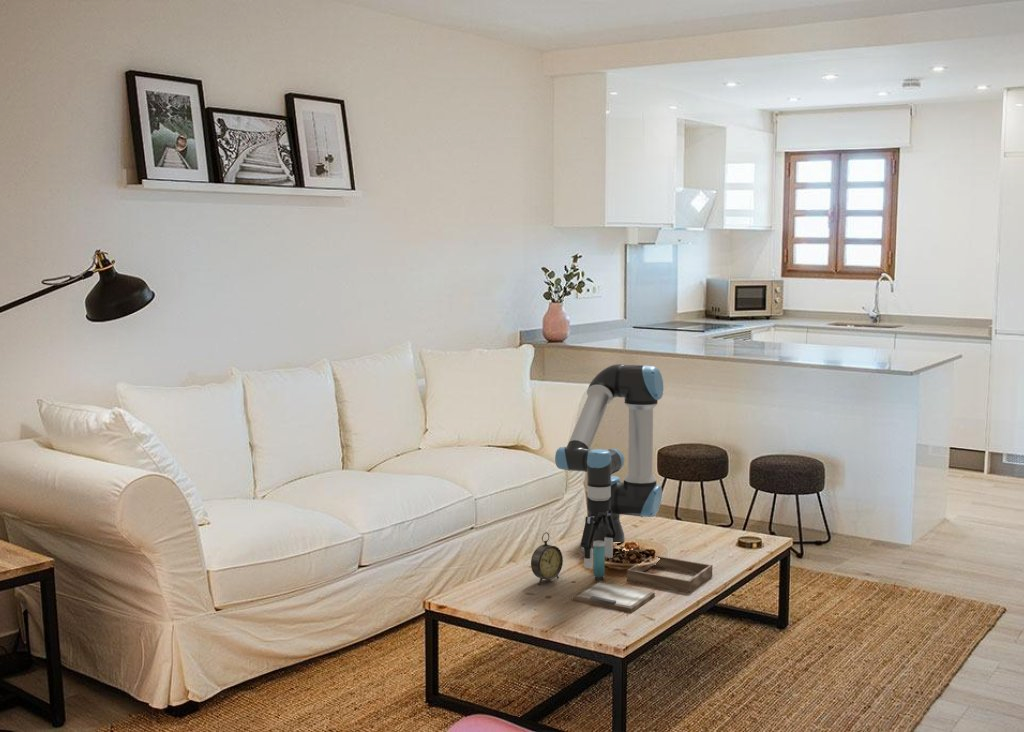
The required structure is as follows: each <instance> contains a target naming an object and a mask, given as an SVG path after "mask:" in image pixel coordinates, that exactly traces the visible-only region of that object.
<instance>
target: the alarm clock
mask: <svg viewBox="0 0 1024 732" xmlns="http://www.w3.org/2000/svg"><path fill="white" fill-rule="evenodd" d="M546 534H547V536H548V537H547V540H544V535H546ZM549 539H550V533H549V532H547V531H545V532H544V533H542V536H541V541H542V542H543V544H541V545H540V546H539V545H538V547H536V549H534V551H533V553H532V556H531V559H530V568H531V571H532V573H533V575H534V576H536V577H537V578H539V582H538V586H541V583H542V581H543V580H546V581H552V580H554V579H555V578H557V579H559V578H560V576H558V575H559V574H560V573H561V571H562V568H563V564H564V563H563V562H564V559H563V558H564V557H563V553H562V551H561V550H560V548H559V547H558V546H555V545H551V544H548V542H549Z"/></svg>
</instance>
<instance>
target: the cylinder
mask: <svg viewBox="0 0 1024 732" xmlns="http://www.w3.org/2000/svg"><path fill="white" fill-rule="evenodd" d="M592 548H593V576H594V581H596V582H602V581H604V577H605V574H606V573H605V572H606V568H605V567H606V566H605V565H606V562H605V561H606V560H605V559H606V557H605V542H604V541H600V540H597V541H594V542H593V545H592Z"/></svg>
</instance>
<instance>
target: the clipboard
mask: <svg viewBox="0 0 1024 732" xmlns="http://www.w3.org/2000/svg"><path fill="white" fill-rule="evenodd" d="M654 597H656V593H655V592H653V591H649V590H644V589H643V590H642V589H638V588H633V587H627V586H624V585H623V586H622V585H617V584H612V583H606V582H602V581H596V582H594V583H593V584H590V585H589V586H587V587H586V588H584V589H583V590H581V591H580V592H577V593H576V594H574V595H573V596H572V601H574V602H579V603H582V604H583V603H584V604H589V605H594V606H599V607H603V608H609V609H613V610H618V611H623V612H626V613H632V612H634V611H636V610H637V609H639V608H640V607H641V606H643V605H644V604H645V603H647V602H648V601H650V600H651V599H653V598H654Z"/></svg>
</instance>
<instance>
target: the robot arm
mask: <svg viewBox="0 0 1024 732" xmlns="http://www.w3.org/2000/svg"><path fill="white" fill-rule="evenodd" d="M586 395H587V398H586V400H585V403H584V405H583V407H582V409H581V412H580V414H579V417H578V418H577V419H578V420H577V421H576V424H575V427H574V429H573V431H572V433H571V436H570V438H569V441H568V442H567V446H560V447H558V448H557V450H556V452H555V456H554V461H555V466H556V467H557V468H558V469H560V470H564V471H569V472H570V471H574V472H586V473H587V474H586V475H587V477H586V478H587V479H586V481H587V484H586V485H587V486H586V490H587V492H586V495H587V501H586V502H587V503H586V504H587V505H586V508H587V515H586V516H585V520H584V522H585V523H584V527H583V531H582V535H581V536H582V537H581V541H580V545H579V546H580V548H582V549H583V550H584V551H583V553H584V554H583V557H584V560H583V562H584V563H583V566H584V568H585V569H593V570H594V553H593V542H594V541H597V540H600V541H604V542H605V558H608V559H609V558H610V559H612V558H614V555H613V554H614V545H613V542H623V543H624V542H625V533H624V529H623V526H622V523H621V520H620V519H621V518H620V515H624V516H633V517H639V518H653V517H654V516H656V514H657V513H658V512H659V508H660V505H661V501H662V498H663V497H662V496H663V490H662V486H661V485H660V484H657V478H656V477H655V476H654V475H653V456H654V455H653V452H654V451H653V446H654V444H653V440H654V439H653V437H654V433H653V432H654V431H653V430H654V408H655V407H656V406H657V405H658V401H659V400H661V399H662V398H663V395H664V379H663V376H662V373H661V371H660V369H659V368H657V367H656V366H652V365H645V364H642V365H641V364H638V365H637V364H613V365H609V366H607V367H606V368H603V369H602V370H601V371H599V373H598V374H596V375H595V377H594V378H593V379H592V380H591V382H590V383H589V385H588V388H587V390H586ZM614 398H624V404H625V406H627V408H628V439H627V440H628V441H627V442H628V446H627V447H628V449H627V451H628V454H627V455H628V456H627V457H628V460H627V461H628V463H627V475H626V476H625V477H624V478H623V481H621V478H620V477H619V476H617V475H613V474H615V473H617V472H619V471H620V470H621V469H622V468H623V466H624V464H625V457H624V454H623V453H622V452H621V451H620V450H618V449H616V448H610V449H604V448H603V449H602V448H597V449H596V448H595V449H591V447H592V445H593V443H594V439H595V436H596V434H597V432H598V430H599V427H600V424H601V423H602V419H603V417H604V415H605V412H606V409H607V407H608V405H609V404H611V403H612V402H613V401H614Z"/></svg>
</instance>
